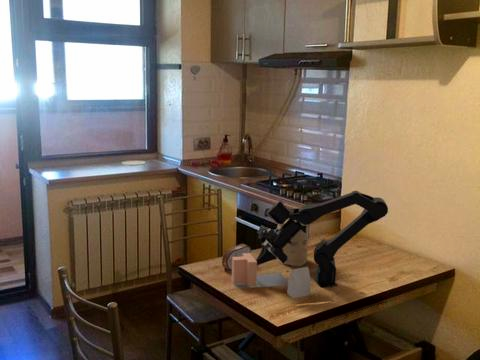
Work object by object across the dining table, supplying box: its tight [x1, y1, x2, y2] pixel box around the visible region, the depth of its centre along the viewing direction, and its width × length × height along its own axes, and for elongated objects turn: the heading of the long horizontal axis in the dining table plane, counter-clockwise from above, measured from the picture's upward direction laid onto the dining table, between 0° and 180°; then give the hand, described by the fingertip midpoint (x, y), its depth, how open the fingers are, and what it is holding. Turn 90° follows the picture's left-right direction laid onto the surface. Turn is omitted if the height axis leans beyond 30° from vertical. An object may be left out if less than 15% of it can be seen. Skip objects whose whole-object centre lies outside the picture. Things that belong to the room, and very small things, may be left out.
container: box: [276, 218, 310, 267], centre depth 205 cm, size 13×13×18 cm
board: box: [229, 272, 288, 290], centre depth 186 cm, size 20×11×1 cm, turn 104°
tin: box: [221, 243, 252, 271], centre depth 199 cm, size 15×3×8 cm, turn 141°
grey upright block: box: [286, 266, 312, 299], centre depth 174 cm, size 4×7×10 cm, turn 119°
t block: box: [231, 252, 258, 287], centre depth 183 cm, size 8×9×9 cm
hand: (255, 264), depth 184 cm, fingers closed
